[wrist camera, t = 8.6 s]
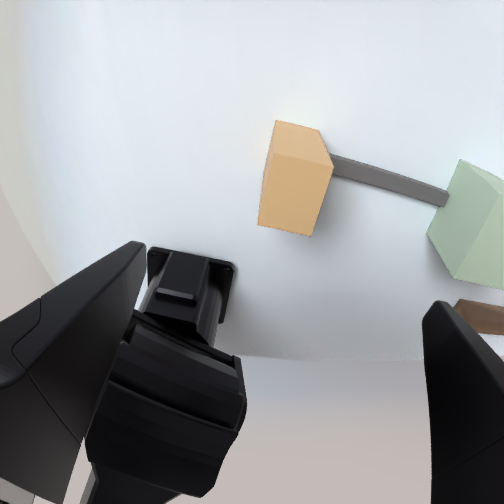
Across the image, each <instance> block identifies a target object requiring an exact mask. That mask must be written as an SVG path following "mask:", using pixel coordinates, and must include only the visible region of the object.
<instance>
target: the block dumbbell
mask: <svg viewBox="0 0 504 504" xmlns="http://www.w3.org/2000/svg"><path fill="white" fill-rule="evenodd" d="M332 174H335V175H339V176H342V177H346V178H350V179H353V180H357V181H361V182H364V183H368V184H371V185H375V186H378V187H382V188H385V189H388V190H392V191H395V192H398V193H401V194H405V195H408V196H411V197H414V198H417V199H420V200H423V201H426V202H429V203H432V204H435V205H438V206H439V208H438V210H437V212H436V214H435V217H434V219H433V221H432V223H431V225H430V227H429V229H428V231H427V235H428V236H429V238H430V240H431V241H432V243H433V245H434V246H435V248H436V250H437V252H438V253H439V255H440V257H441V258H442V260H443V262H444V264H445V266H446V267H447V269H448V271H449V273H450V275H451V276H452V278H454V279H458V280H462V281H467V282H471V283H475V284H479V285H484V286H488V287H492V288H497V289H501V290H504V180H503V179H501V178H499V177H497V176H495V175H493V174H491V173H489V172H487V171H485V170H483V169H481V168H479V167H477V166H475V165H472V164H470V163H468V162H466V161H464V160H462V159H460V161H459V163H458V166H457V168H456V170H455V173H454V175H453V177H452V180H451V182H450V184H449V187H448V189H447V191H445V190H442V189H440V188H437V187H434V186H432V185H429V184H426V183H423V182H420V181H417V180H415V179H412V178H409V177H406V176H403V175H400V174H397V173H394V172H390V171H387V170H384V169H381V168H378V167H374V166H371V165H368V164H364V163H361V162H358V161H354V160H351V159H347V158H343V157H340V156H336V155H332V154H329V153H328V152H327V149H326V147H325V145H324V142H323V140H322V138H321V135H320V133H319V131H318V130H316V129H312V128H308V127H304V126H300V125H296V124H292V123H287V122H283V121H278V120H276V121H275V125H274V130H273V134H272V138H271V143H270V147H269V151H268V156H267V160H266V164H265V169H264V173H263V181H262V189H261V198H260V206H259V214H258V223H257V225H259V226H264V227H269V228H274V229H279V230H283V231H288V232H293V233H298V234H302V235H307V236H311V234H312V231H313V228H314V225H315V223H316V220H317V217H318V214H319V211H320V208H321V205H322V202H323V199H324V196H325V193H326V190H327V187H328V184H329V181H330V178H331V175H332Z"/></svg>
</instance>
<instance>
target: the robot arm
mask: <svg viewBox="0 0 504 504" xmlns="http://www.w3.org/2000/svg"><path fill="white" fill-rule="evenodd" d="M153 253H155V254H156V255H154V254H153ZM146 267H147V272H148V289H147V291H146V293H145V296H144V298H143V300H142V302H141V305H140V307H139V309H138V310H136V309H134V307H135V304H136V301H137V297H138V294H139V291H140V288H141V285H142V282H143V279H144V276H145V273H146ZM225 268H229V270H227V269H225ZM233 272H234V265H233V264H232V263H231V262H227V261H222V260H217V259H212V258H207V257H202V256H197V255H192V254H188V253H183V252H178V251H173V250H168V249H163V248H158V247H151V248H150V249H149V250H148V253H147V263H146V245H145V244H144V243H141V242H137V241H130V242H128V243H127V244H125V245H123V246H122V247H120V248H118V249H116V250H115V251H113V252H111V253H110V254H108V255H106V256H105V257H103V258H101V259H100V260H98V261H96V262H95V263H93V264H91V265H90V266H88V267H86V268H85V269H83V270H82V271H80V272H78V273H77V274H75V275H74V276H72V277H70V278H69V279H67V280H66V281H64V282H62V283H61V284H59V285H58V286H56V287H55V288H53V289H52V290H50V291H48V292H47V293H45V294H44V295H42V296H41V299H40V298H38V299H36V300H35V301H33V302H32V303H30V304H29V305H27V306H25V307H24V308H22V309H21V310H19V311H18V312H16V313H14V314H13V315H11V316H9V317H8V318H6V319H4V320H3V321H1V322H0V504H33V501H34V498H35V495H37V496H39V497H41V498H43V499H46V500H48V501H51V502H53V503H55V504H63V501H64V497H65V494H66V491H67V487H68V484H69V480H70V477H71V474H72V471H73V468H74V464H75V462H76V458H77V455H78V452H79V449H80V446H81V444H80V443H82V440H83V437H84V438H85V448H86V453H87V458H88V461H89V462H91V465H92V470H91V473H90V476H89V478H88V482H87V484H86V487H85V490H84V492H83V495H82V498H81V501H80V504H166V503H167V502H169V501H171V500H172V499H174V498H176V497H177V496H179V495H181V494H186V495H189V496H194V497H198V498H201V497H203V496H204V495H205V494H206V493H207V492H208V491H210V490H211V489H212V488H213V487H214V485H215V482H216V479H217V476H218V473H219V471H220V468H221V465H222V462H223V460H224V458H225V456H226V454H227V452H228V450H229V448H230V446H231V445H232V443H233V442H234V441H235V439H236V438H237V436H238V432H239V431H240V429H241V426H242V424H243V422H244V419H245V415H246V410H247V398H246V392H245V385H244V379H243V372H242V366H241V359H240V358H239V357H236V356H234V355H232V356H231V355H228V354H226V353H224V352H222V351H219V350H217V349H215V348H213V346H214V341H215V336H216V331H217V326H218V324H221V323H223V322H224V317H225V312H226V307H227V302H228V297H229V292H230V287H231V282H232V277H233ZM422 333H423V350H424V367H425V376H426V384H427V394H428V404H429V417H430V433H431V462H432V480H431V504H504V362H503V361H502V359H501V358H500V357H499V356H498V355H497V354H496V353H495V352H494V350H493V349H492V348H491V347H490V346H489V345H488V344H487V343H486V342H485V341H484V340H483V339H482V337H481V336H480V335H479V334H478V333H477V332H476V331H475V330H474V329H473V328H472V327H471V326H470V325H469V324H468V323H467V322H466V321H465V320H464V319H463V318H462V317H461V316H460V315H459V314H458V313H457V312H456V311H455V310H454V309H453V308H452V307H451V306H450V305H449V304H448V303H447V302H445V301H439V300H438V301H435V302H434V303H433V304H432V306H431V307H430V309H429V310H428V312H427V313H426V314H425V316H424V317H423V320H422Z"/></svg>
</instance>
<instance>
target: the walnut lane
mask: <svg viewBox="0 0 504 504" xmlns="http://www.w3.org/2000/svg"><path fill="white" fill-rule="evenodd" d="M453 309H454V310H455V311H456V312H457V313H458V314H459V315H460V316H461V317H462V318H463V319H464V320H465V321H466V322H467V323H468V324H469V325H470V326H471V327H472V328H473V329H474V330H475V331H476V332H477V333H484V334H494V335H504V307H500V306H495V305H489V304H484V303H479V302H473V301H468V300H462V299H460V300H459V301H458V303H457V304H456V305H455V307H454V308H453Z"/></svg>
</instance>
